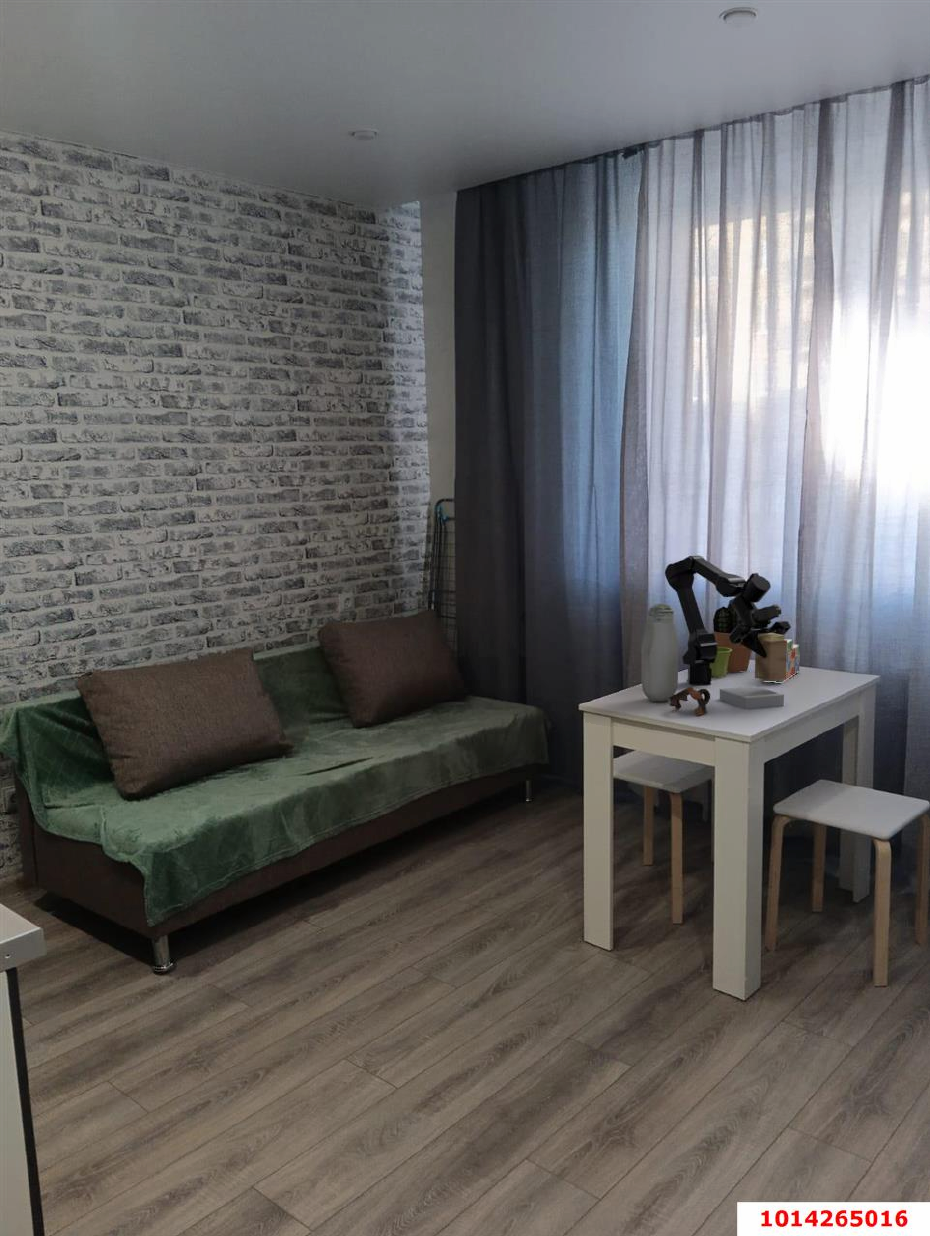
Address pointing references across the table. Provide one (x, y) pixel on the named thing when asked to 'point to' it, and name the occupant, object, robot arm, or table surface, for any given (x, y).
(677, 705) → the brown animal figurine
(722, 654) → the plant pot
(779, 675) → the brown rectangular block
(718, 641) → the potted plant
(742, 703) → the dock
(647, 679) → the glass bottle
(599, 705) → the table surface
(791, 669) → the stack of blocks
